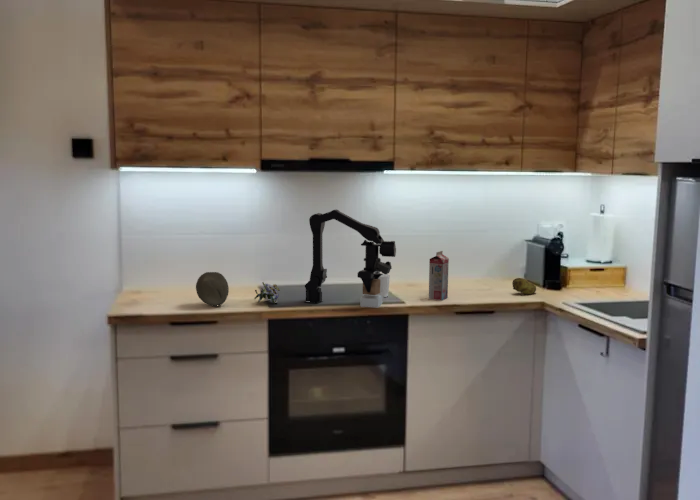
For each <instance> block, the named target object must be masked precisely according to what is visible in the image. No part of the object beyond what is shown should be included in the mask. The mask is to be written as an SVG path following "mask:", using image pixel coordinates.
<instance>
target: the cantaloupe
mask: <svg viewBox="0 0 700 500" xmlns="http://www.w3.org/2000/svg"><path fill="white" fill-rule="evenodd" d="M229 290H230V289H229V283H228V280H227V279H226V277H225V276H224V275H223V274H222V273H220V272H217V271H206V272H204V273H203V274H201V275H199V277H198V278H197V281H196V282H195V291H196V294H197V296H198V298H199V299H200V300H201V301H202V302H203V303H204V304H206V305H208V306H211V307H218V306H217V305H219V306H221V305H223V304H224V303H225V302H226V300H227V298H228V296H229V292H230V291H229Z"/></svg>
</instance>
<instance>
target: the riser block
mask: <svg viewBox="0 0 700 500" xmlns="http://www.w3.org/2000/svg"><path fill="white" fill-rule="evenodd" d="M359 301H360V303H359V304H360V305H359V307H362V308H365V307H366V308H377V309H378V308H380V307H381V306H382V305H383V297H382V296H380V295H368V294H363V296H361V297H360V299H359ZM381 304H382V305H381Z"/></svg>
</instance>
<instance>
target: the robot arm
mask: <svg viewBox="0 0 700 500" xmlns="http://www.w3.org/2000/svg"><path fill="white" fill-rule="evenodd" d="M331 220H335V221H337V222H339V223H341V224H343V225H345V226H346V227H349V228H350V229H352V230H354V231H356V232H357V233H359V235H361V237H363V238H364V240H363V242H362V243H360V246H362V247H365V249H364V250H365V251H364V252H365V257H364V258H363V261H364V262H365V263H364V265H365V266H364V267H363V269H362V270H359V271H358V272H357V278H360V280H361V281H362V284H363V283H364V286H365V288H366V290H367V292H370V290H371V283H372V280H373V279H379V277H380V276H381V275H383V274H388V275H389V274H390V272H391V269H393V268H392V263H391V262H390V261H389V260H388V261H386V262H385V261H384V262H382V260H381V258H380V257H379V254H380V255H381V257H385V258H386V257H388V258H390V257H391V258H395V257H396V256H397V255H396V254H397V248H396V241H395V240H391V241H389V240H384V239H383V237H382V236H381V233H380V230H379V228H378V227H377V226H373V225H371V224H365V223H362V222H360V221H358V220H357V219H355V218H353V217H351V216H349V215H347V214H345V213H344V212H341V211H340V210H339V209H336V208H335V209H333V210H331V211H328V212H325V213H320V212H318V213H317V212H316V213H314V214H312V215H311V216H309V220H308V221H309V226H310V228H309V229H310V230H311V235H312V267H311V270H310V275H309V280H308V281H307V283H305V284H304V288H305V301H310V302H315V303H314V304H318V303H317V302H319V303H321V302H323V301H322V300H323V291H322V288H321V287H322V285H323V284H324V283H325V282H326V280H327V278H328V276H327V275H328V274H327V273H328V269H327V268H324V264H323V263H324V262H323V232H324V229H325V227H326V226H325V225H326V222H329V221H331ZM320 301H321V302H320Z"/></svg>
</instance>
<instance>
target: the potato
mask: <svg viewBox="0 0 700 500" xmlns="http://www.w3.org/2000/svg"><path fill="white" fill-rule="evenodd" d="M512 289H513V290H515V291H516V292H518V293H521V294H524V295H532V294H535V293H536V291H537V285H535V284H534V283H532V282H530V281H528V280H527V279H526V278H523V277H516V278H515V279H513V281H512Z"/></svg>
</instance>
